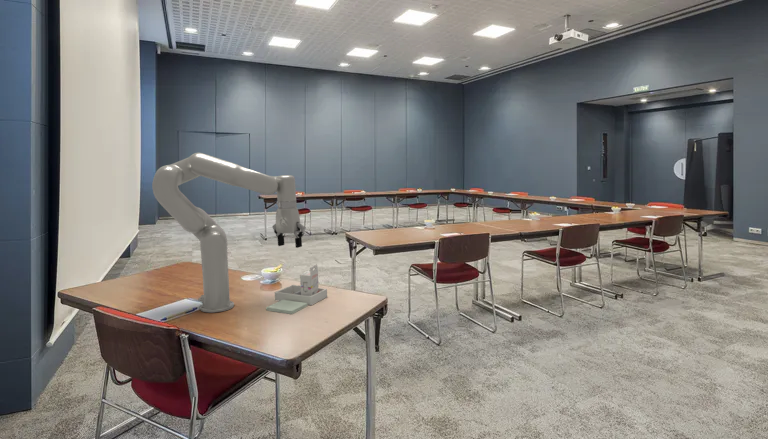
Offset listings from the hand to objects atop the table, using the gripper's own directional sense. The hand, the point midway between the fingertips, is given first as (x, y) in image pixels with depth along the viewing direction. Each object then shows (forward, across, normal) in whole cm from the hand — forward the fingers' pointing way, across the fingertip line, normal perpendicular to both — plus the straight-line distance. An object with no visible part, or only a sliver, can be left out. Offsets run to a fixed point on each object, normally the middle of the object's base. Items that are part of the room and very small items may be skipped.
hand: (289, 246), depth 179 cm
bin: (+23, +2, +2) cm, 23 cm away
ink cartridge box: (+23, +7, +3) cm, 24 cm away
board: (+23, +6, -10) cm, 25 cm away
